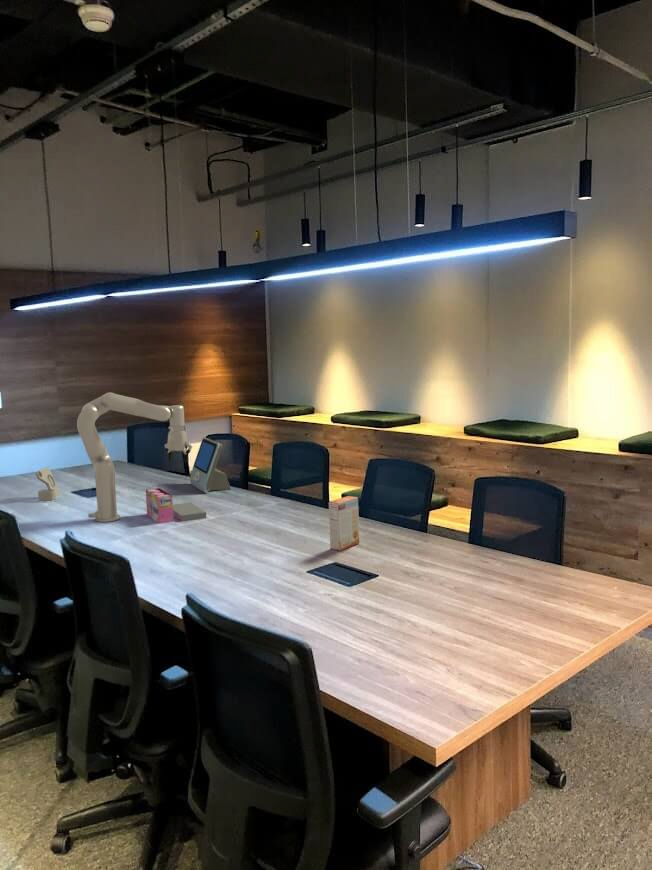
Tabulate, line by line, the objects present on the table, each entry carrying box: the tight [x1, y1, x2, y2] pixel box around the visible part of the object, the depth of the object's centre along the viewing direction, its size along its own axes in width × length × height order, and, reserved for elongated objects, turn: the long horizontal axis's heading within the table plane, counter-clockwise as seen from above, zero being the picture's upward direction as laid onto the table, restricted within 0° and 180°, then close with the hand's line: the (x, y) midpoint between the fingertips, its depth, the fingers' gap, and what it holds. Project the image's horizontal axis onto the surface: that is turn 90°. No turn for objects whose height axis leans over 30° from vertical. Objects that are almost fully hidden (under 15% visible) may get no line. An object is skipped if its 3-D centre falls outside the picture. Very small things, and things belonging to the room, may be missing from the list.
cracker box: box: [328, 495, 360, 552], centre depth 309 cm, size 14×6×21 cm, turn 141°
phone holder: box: [35, 467, 62, 501], centre depth 422 cm, size 17×10×18 cm, turn 179°
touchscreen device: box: [189, 437, 231, 494], centre depth 442 cm, size 35×20×30 cm, turn 25°
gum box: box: [145, 487, 174, 524], centre depth 369 cm, size 24×8×14 cm, turn 30°
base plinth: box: [173, 501, 207, 522], centre depth 375 cm, size 13×27×3 cm, turn 28°
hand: (178, 461), depth 379 cm, fingers open, 9 cm apart
